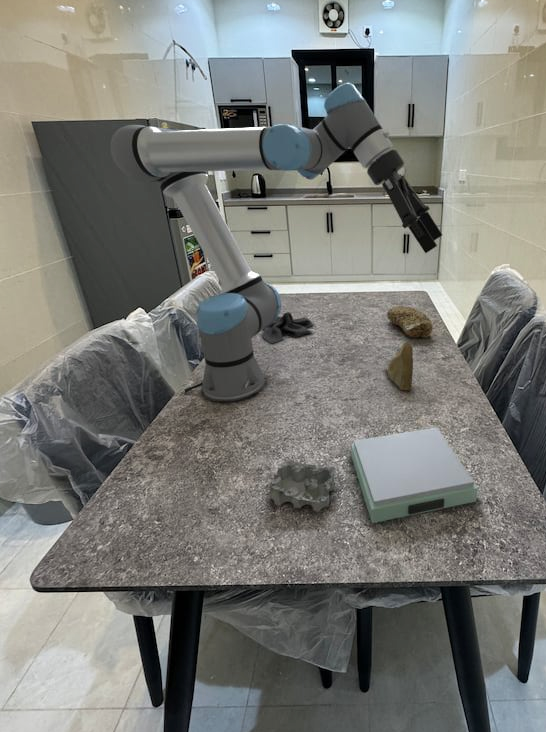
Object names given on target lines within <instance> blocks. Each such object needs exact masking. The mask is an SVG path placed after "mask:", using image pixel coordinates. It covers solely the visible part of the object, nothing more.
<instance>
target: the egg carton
mask: <svg viewBox="0 0 546 732" xmlns="http://www.w3.org/2000/svg"><path fill="white" fill-rule="evenodd" d="M335 468H336V467H335V466H327V467H326V466H325V467H322V466H320V465H319V466H317V465H316V464H315V463H314V464H311V463H310V464H309V463H301V462H298V461H296V460H287V461H285V462H283V463H282V464H280V465H279V467H278V468H277V470H276V473H274V475H273V479H272V480H269V482H268V483H267V484H266V486H265V487H266V489H267V488H269V496H270V497H269V498H270V500H273V502H274V505H276V506H282V504H284V503H292V505H293V508H297V509H301V508H302V507H303V506H306V505H310V506H311V508H312V511H313V512H320V511H321V510H322V509H324V508H326V507H328V506H329V504H330V492H333V491H334V488H335V472H336V469H335Z"/></svg>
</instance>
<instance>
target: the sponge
mask: <svg viewBox="0 0 546 732" xmlns="http://www.w3.org/2000/svg"><path fill="white" fill-rule="evenodd" d="M386 316H387V319H388V320H389V321H390V322H391V323H393V324H394V325H396V326H398V327H400V328H401V329H402V330H403V332H404V333H405V335H407V336H409V337H410V338H424V339H425V338H428V337H429V336H431V334H432V332H433V329H434V326H433V323H432V321H431V319H430V318H429V317H428V315H426V314H425V313H423V312H421V311H420V310H418V309H416V308H414V307H411V306H406V305H398V306H394V307H392V308H389V310H387V314H386Z"/></svg>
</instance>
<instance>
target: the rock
mask: <svg viewBox="0 0 546 732" xmlns="http://www.w3.org/2000/svg"><path fill="white" fill-rule="evenodd" d="M413 350H414V349H413V345H412V344H411V343H409V342H407V341H405V342H404V343H403V344H402V345H401V346H400V348H399V349H398V350H397V351H396V353H395V356H394V357H393V358H392V359H391V361H390V362H389V364H388V367H387V369H386V373H387V377H388V379H390V381H391V382H393V383H394V384H395V385H396V386H397V387H398V388H399V390H401V391H410V390H411V387H412V383H413V374H414V370H413V369H414V358H413V357H414V355H413V354H414V353H413V352H414V351H413Z"/></svg>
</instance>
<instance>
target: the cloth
mask: <svg viewBox="0 0 546 732" xmlns="http://www.w3.org/2000/svg"><path fill="white" fill-rule="evenodd" d="M313 326H314V325H313V322H312V321H311V319H309V318H307V317H305V316H304V317H300V318H296V319H294V317H293V315H292V313H291V312H290V311H287V312H284V313H283V315H282V316H278V317H277V318H276V319H275V320H274V322H273V323H272V324H271V325H269V326H267V327H266V328H264V329H263V330H262V331H263V333H262V338H263V339H264V341H266V342H268V343H270V344H271V345H272V344H275V343H278V342H280V341H283V340H284V337H283V336H290V337H292V338H297V337H300V336H303V335H308V334H311V333H313V332H312V331H311V330H310V329H309V328H311V327H313Z"/></svg>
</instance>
